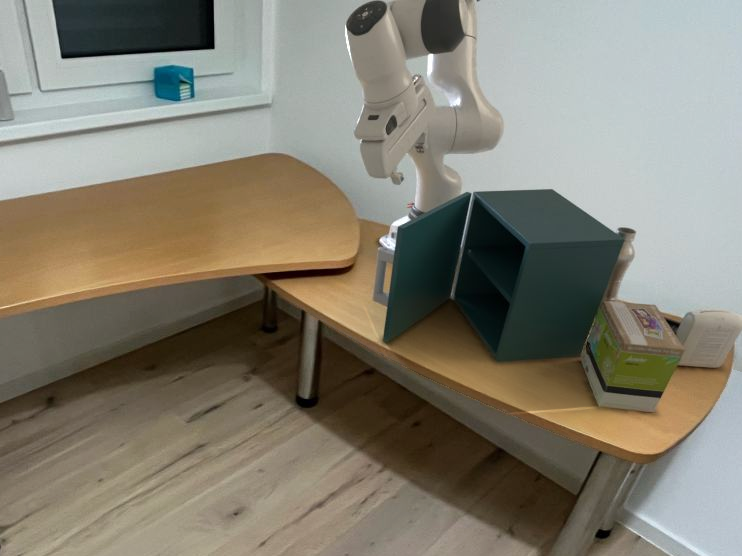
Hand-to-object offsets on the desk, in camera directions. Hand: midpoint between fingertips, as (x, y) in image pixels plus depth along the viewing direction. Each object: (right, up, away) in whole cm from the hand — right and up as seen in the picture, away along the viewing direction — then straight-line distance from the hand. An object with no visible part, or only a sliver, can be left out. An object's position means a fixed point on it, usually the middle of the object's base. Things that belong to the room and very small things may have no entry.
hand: (410, 166), depth 111 cm
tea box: (+39, -43, -1) cm, 58 cm away
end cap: (+53, -35, +11) cm, 64 cm away
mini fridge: (+26, -30, +16) cm, 43 cm away
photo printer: (+59, -39, +6) cm, 71 cm away
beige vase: (+49, -27, +22) cm, 60 cm away
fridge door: (+4, -28, +20) cm, 34 cm away
